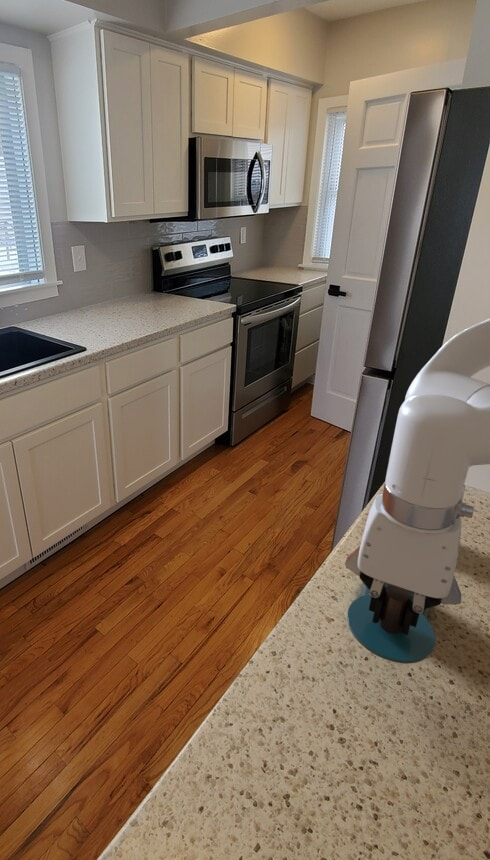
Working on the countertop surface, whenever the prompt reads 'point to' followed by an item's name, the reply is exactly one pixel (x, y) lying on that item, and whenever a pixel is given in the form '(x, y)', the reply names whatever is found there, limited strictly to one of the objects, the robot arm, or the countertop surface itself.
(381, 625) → the lid
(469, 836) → the countertop surface
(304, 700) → the countertop surface
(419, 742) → the countertop surface
